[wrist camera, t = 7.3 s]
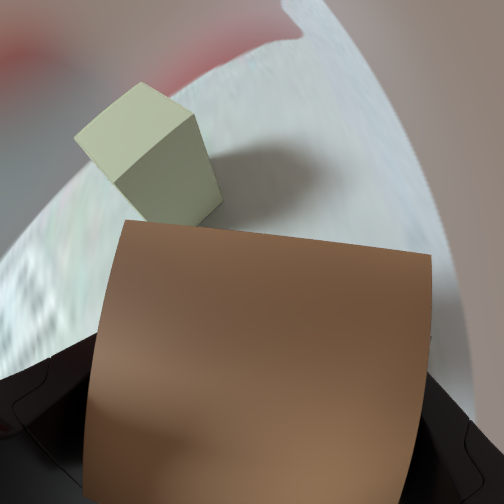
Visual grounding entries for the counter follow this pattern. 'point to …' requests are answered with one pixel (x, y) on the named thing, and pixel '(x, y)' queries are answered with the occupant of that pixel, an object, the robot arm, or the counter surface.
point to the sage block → (154, 157)
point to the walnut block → (255, 370)
